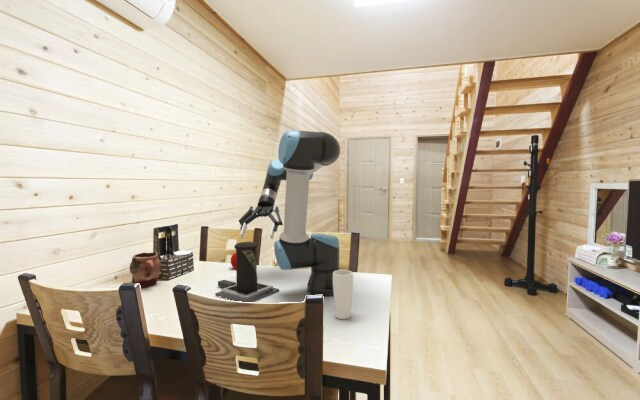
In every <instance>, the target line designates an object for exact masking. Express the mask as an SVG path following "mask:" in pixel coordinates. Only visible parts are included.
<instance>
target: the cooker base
mask: <svg viewBox="0 0 640 400" xmlns="http://www.w3.org/2000/svg"><path fill="white" fill-rule="evenodd" d="M217 287H221V290H220V291H218V292H215V295H216V296H215V295H214V296H215V297H218V296H221V297H222V298H221V297H220V298H221V299H225V298H227V299H226V300H228V301H231V300H234V301H242V302H252V303H255V302H258V301H259V300H262V299H264V298H265V299H266V298H267V297H269V296H271V295H274V294H276V293H279V292H280V288H276V287H274V285H272V284H271V285H270V284H267V283H263V282H258V281H257V291H255V292H252V293H249V294H243V293H239V292H237V284H236V281H231V280H226V279H221V280H218V281H217ZM229 299H230V300H229ZM234 301H233V302H234Z"/></svg>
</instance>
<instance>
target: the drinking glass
mask: <svg viewBox="0 0 640 400" xmlns="http://www.w3.org/2000/svg"><path fill="white" fill-rule="evenodd" d="M353 287H354V274H353V271H351V270H349V269H339V270H336V271H334V272H333V294H334V295H333V302H334V303H333V305H334V316H335V318H336V319H338V320H348V319H349V318H351V316H352V304H353V303H352V302H353Z"/></svg>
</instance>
